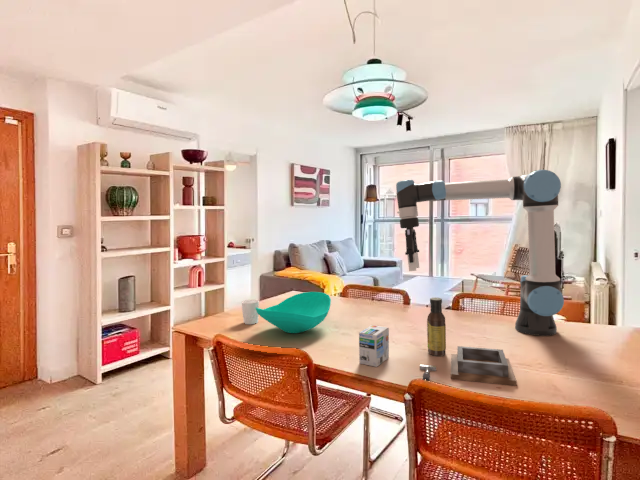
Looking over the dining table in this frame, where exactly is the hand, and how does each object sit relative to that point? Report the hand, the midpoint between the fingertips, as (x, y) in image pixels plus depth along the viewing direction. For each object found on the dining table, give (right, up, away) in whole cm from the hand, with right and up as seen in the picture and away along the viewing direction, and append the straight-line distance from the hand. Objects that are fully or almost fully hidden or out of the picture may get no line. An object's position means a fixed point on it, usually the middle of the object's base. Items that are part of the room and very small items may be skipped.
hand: (414, 269), depth 167 cm
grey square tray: (+12, -29, -39) cm, 50 cm away
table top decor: (-49, -27, +8) cm, 57 cm away
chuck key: (-5, -30, -40) cm, 50 cm away
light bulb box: (-20, -29, -28) cm, 45 cm away
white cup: (-71, -27, +22) cm, 79 cm away
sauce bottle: (+2, -28, -23) cm, 37 cm away
